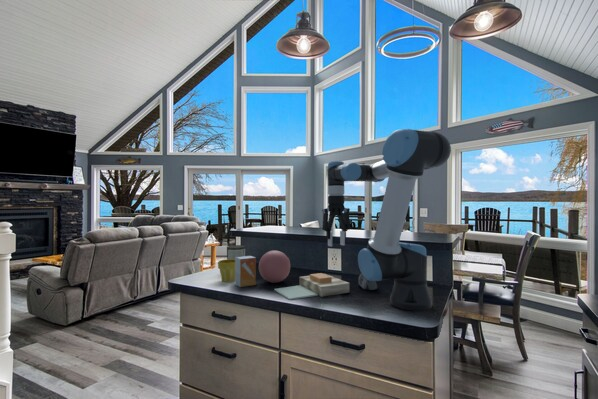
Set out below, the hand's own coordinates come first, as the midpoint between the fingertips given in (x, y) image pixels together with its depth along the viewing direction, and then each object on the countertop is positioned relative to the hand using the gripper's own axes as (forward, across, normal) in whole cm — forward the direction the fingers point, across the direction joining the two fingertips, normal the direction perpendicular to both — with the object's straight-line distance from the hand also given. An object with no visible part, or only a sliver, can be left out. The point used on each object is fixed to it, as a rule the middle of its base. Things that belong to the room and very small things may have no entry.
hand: (336, 245), depth 147 cm
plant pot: (+19, +41, -35) cm, 57 cm away
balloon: (+19, +20, -22) cm, 35 cm away
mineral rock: (+19, -13, +6) cm, 24 cm away
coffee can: (+19, +32, -54) cm, 66 cm away
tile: (+15, +8, 0) cm, 17 cm away
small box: (+19, +36, -23) cm, 47 cm away
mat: (+19, +21, 0) cm, 28 cm away
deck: (+19, +7, 0) cm, 20 cm away
